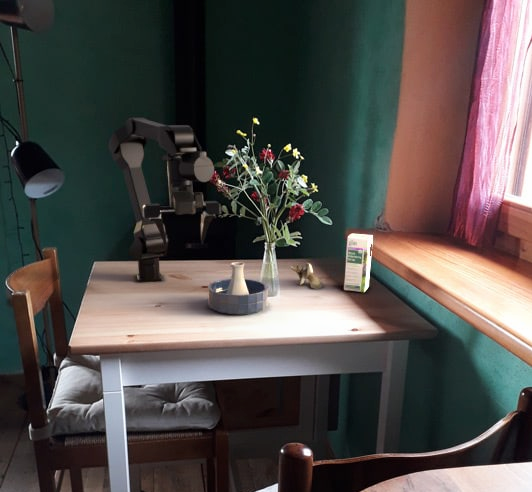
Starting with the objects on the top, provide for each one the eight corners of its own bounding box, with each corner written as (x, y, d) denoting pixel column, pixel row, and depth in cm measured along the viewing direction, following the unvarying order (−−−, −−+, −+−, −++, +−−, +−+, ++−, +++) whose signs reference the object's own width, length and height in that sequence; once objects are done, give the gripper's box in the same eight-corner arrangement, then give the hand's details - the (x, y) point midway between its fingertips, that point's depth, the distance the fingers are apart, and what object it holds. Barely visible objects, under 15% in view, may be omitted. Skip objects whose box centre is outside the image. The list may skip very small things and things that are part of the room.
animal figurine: (283, 278, 169) (302, 280, 161) (294, 255, 170) (312, 256, 162) (303, 290, 173) (322, 293, 165) (313, 267, 174) (333, 269, 166)
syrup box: (343, 290, 164) (346, 236, 159) (348, 284, 169) (352, 232, 164) (364, 293, 162) (368, 238, 157) (369, 287, 167) (373, 234, 162)
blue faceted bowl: (205, 299, 154) (204, 279, 153) (260, 296, 157) (260, 277, 156) (212, 317, 142) (212, 296, 140) (272, 314, 144) (273, 294, 143)
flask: (256, 307, 147) (256, 266, 144) (227, 309, 145) (226, 268, 142) (247, 298, 154) (247, 259, 150) (219, 300, 151) (218, 261, 148)
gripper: (143, 184, 139) (148, 252, 144) (224, 181, 144) (226, 247, 149) (140, 180, 150) (145, 244, 155) (216, 178, 154) (218, 240, 159)
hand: (184, 244), depth 154 cm, fingers open, 9 cm apart
